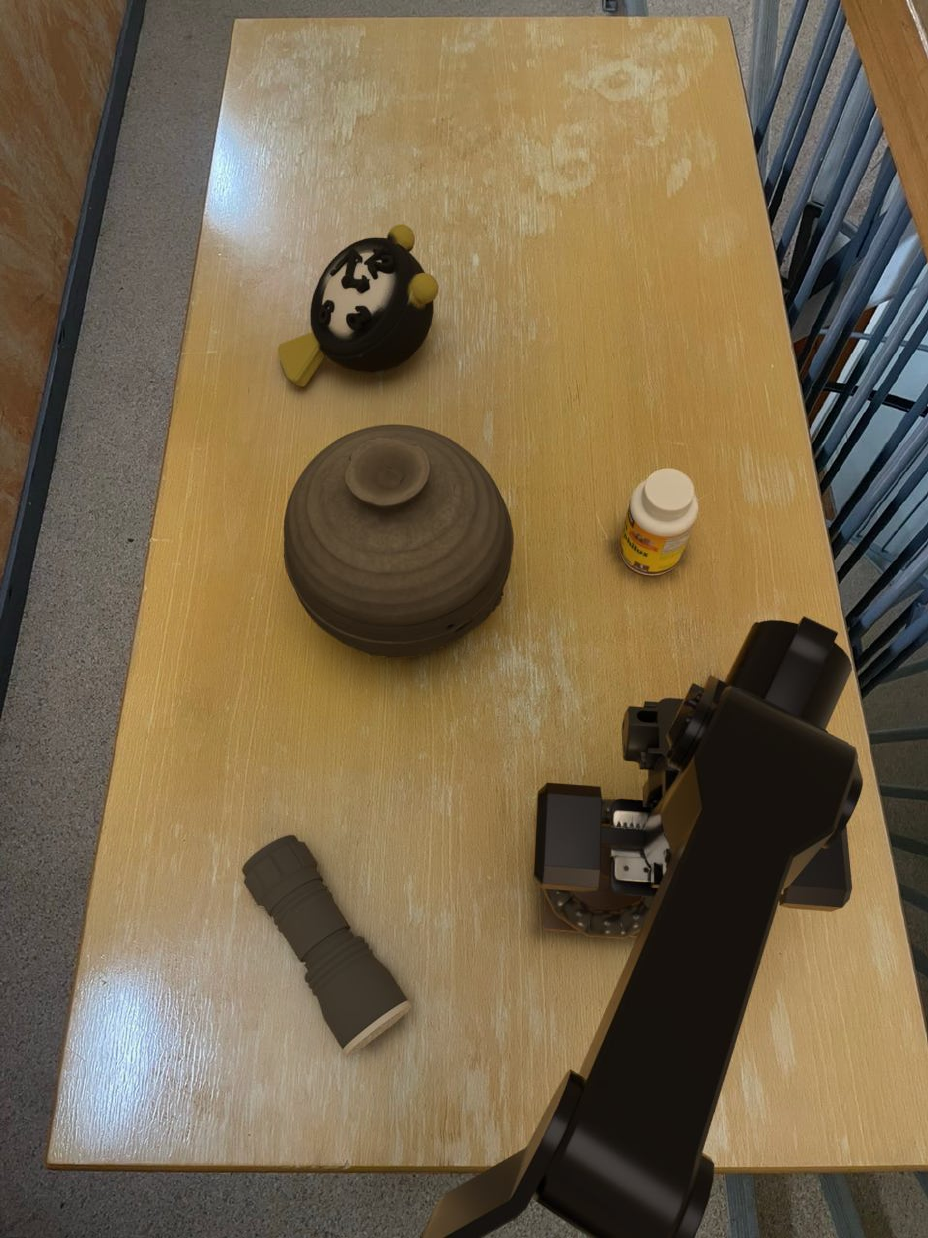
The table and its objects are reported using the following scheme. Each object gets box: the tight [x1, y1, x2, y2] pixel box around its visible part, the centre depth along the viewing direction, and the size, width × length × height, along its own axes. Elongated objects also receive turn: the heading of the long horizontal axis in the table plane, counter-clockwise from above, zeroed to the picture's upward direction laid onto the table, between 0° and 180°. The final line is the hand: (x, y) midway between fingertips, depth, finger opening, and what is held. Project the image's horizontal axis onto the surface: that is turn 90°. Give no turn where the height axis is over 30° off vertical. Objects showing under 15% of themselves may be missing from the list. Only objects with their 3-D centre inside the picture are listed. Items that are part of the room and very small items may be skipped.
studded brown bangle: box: [541, 797, 658, 940], centre depth 65 cm, size 10×10×2 cm
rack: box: [542, 824, 641, 939], centre depth 67 cm, size 8×8×8 cm
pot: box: [283, 423, 515, 659], centre depth 72 cm, size 18×18×20 cm
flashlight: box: [241, 834, 412, 1057], centre depth 66 cm, size 15×5×5 cm, turn 36°
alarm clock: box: [277, 223, 440, 388], centre depth 88 cm, size 12×15×15 cm
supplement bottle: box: [618, 467, 699, 576], centre depth 77 cm, size 6×6×10 cm
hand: (663, 869), depth 64 cm, fingers closed on studded brown bangle, 2 cm apart
